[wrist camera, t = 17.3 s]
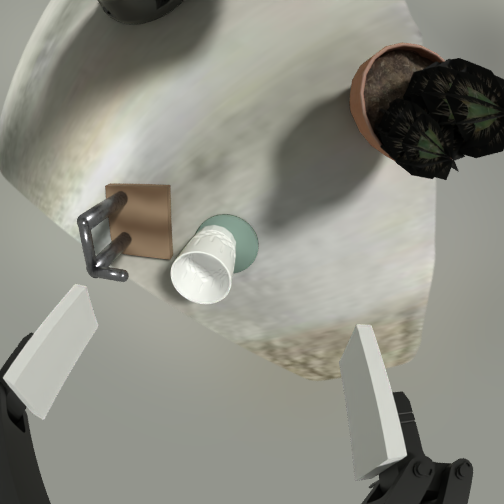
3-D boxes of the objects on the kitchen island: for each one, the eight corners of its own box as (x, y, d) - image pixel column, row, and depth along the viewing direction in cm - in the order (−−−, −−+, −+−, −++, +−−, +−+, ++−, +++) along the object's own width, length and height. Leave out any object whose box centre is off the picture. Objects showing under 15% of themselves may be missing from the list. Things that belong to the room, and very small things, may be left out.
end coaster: (195, 211, 42) (194, 213, 41) (261, 217, 41) (260, 219, 41) (196, 268, 46) (195, 270, 46) (255, 274, 46) (255, 276, 45)
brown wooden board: (109, 183, 40) (105, 186, 39) (170, 185, 40) (166, 187, 39) (117, 248, 46) (113, 252, 45) (173, 255, 46) (170, 259, 44)
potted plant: (331, 55, 29) (409, -18, 7) (418, 72, 28) (544, 60, 6) (331, 147, 36) (412, 198, 14) (415, 158, 35) (536, 219, 13)
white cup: (212, 274, 46) (198, 313, 37) (181, 239, 43) (158, 271, 35) (250, 250, 43) (244, 287, 34) (218, 210, 41) (202, 239, 32)
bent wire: (114, 191, 39) (72, 216, 29) (153, 192, 39) (116, 219, 29) (120, 244, 44) (85, 279, 34) (157, 248, 43) (126, 287, 33)
